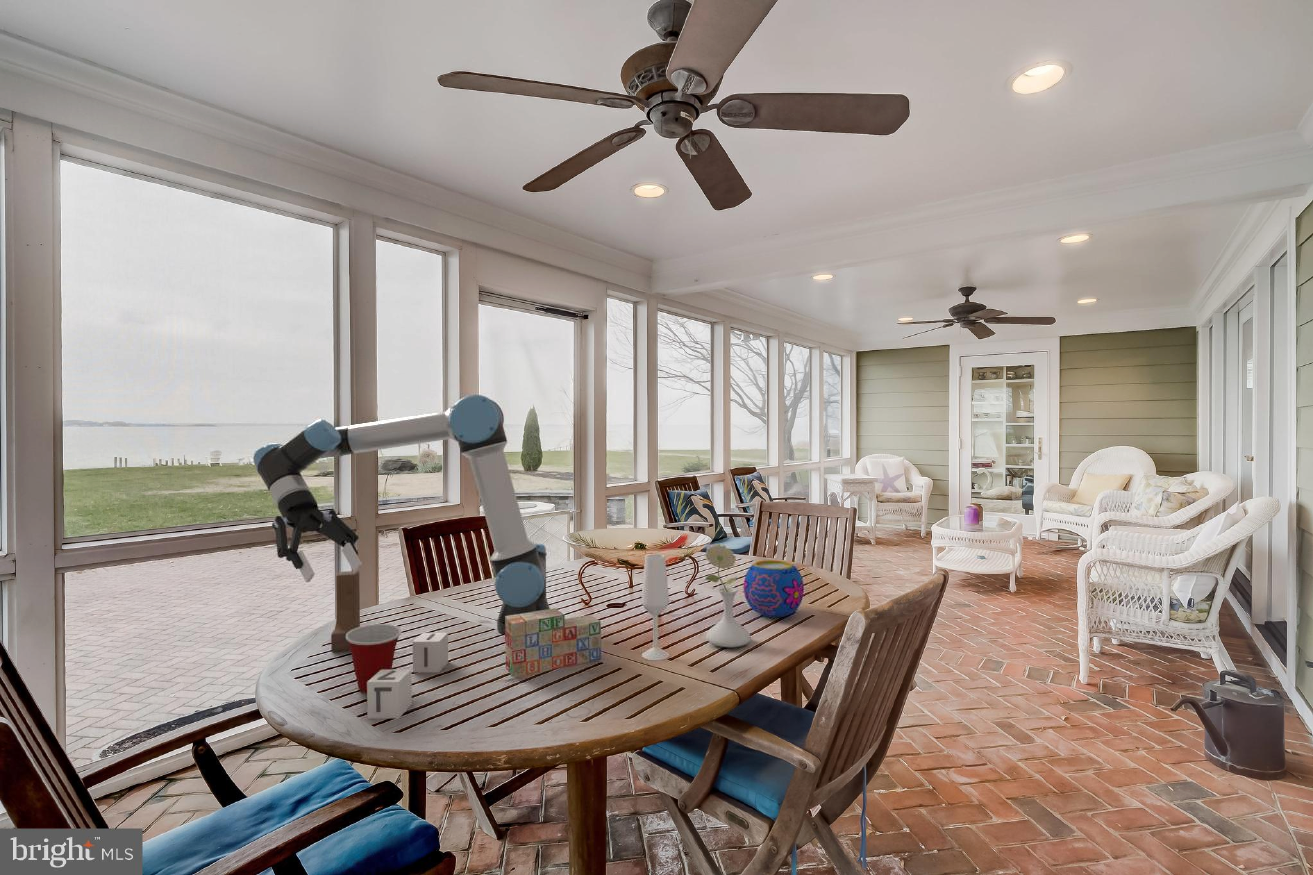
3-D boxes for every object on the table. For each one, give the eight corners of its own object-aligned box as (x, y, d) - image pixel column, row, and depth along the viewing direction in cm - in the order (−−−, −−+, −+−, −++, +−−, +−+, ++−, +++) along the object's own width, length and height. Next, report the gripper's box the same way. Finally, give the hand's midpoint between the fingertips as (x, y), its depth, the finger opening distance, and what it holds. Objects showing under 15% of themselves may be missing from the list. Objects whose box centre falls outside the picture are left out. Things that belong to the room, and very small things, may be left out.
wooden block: (350, 650, 151) (349, 578, 151) (330, 652, 150) (330, 579, 150) (360, 638, 160) (359, 570, 160) (341, 639, 159) (341, 571, 159)
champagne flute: (655, 648, 151) (655, 552, 151) (675, 654, 147) (674, 556, 146) (636, 655, 147) (635, 556, 146) (655, 662, 142) (654, 560, 142)
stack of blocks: (591, 651, 149) (591, 602, 149) (601, 660, 144) (601, 608, 144) (504, 668, 139) (504, 615, 139) (512, 678, 134) (511, 622, 134)
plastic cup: (365, 703, 122) (365, 643, 121) (335, 691, 127) (334, 634, 127) (412, 683, 131) (412, 628, 131) (382, 673, 136) (381, 620, 136)
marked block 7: (411, 704, 121) (411, 668, 121) (398, 718, 115) (398, 681, 115) (381, 704, 121) (381, 668, 121) (367, 719, 115) (366, 681, 115)
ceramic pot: (812, 611, 181) (811, 561, 181) (793, 628, 166) (792, 573, 166) (757, 603, 190) (756, 555, 190) (734, 618, 175) (733, 566, 175)
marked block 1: (448, 662, 143) (448, 631, 143) (439, 672, 137) (438, 640, 137) (422, 662, 143) (422, 632, 143) (412, 672, 137) (412, 641, 137)
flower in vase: (759, 643, 155) (759, 545, 154) (733, 655, 146) (733, 551, 146) (718, 631, 163) (718, 539, 163) (691, 642, 155) (691, 545, 155)
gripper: (333, 504, 154) (373, 572, 147) (235, 515, 134) (275, 595, 127) (346, 484, 152) (387, 553, 144) (247, 492, 132) (289, 572, 124)
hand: (335, 573), depth 135 cm, fingers open, 10 cm apart
